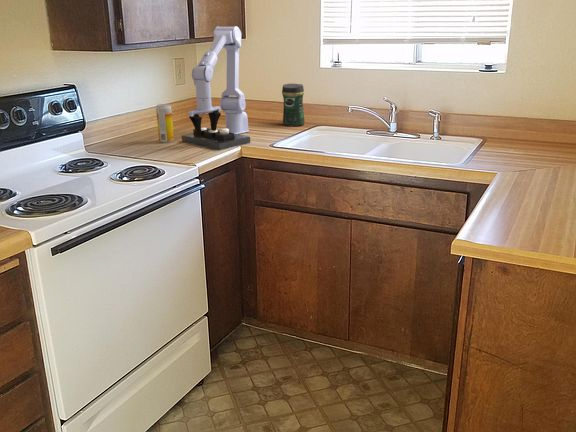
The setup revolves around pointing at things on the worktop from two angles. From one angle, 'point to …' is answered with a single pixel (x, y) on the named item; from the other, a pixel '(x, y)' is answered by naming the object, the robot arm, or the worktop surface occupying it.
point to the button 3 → (224, 131)
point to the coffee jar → (293, 104)
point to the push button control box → (215, 139)
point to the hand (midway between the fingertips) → (206, 131)
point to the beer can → (165, 123)
